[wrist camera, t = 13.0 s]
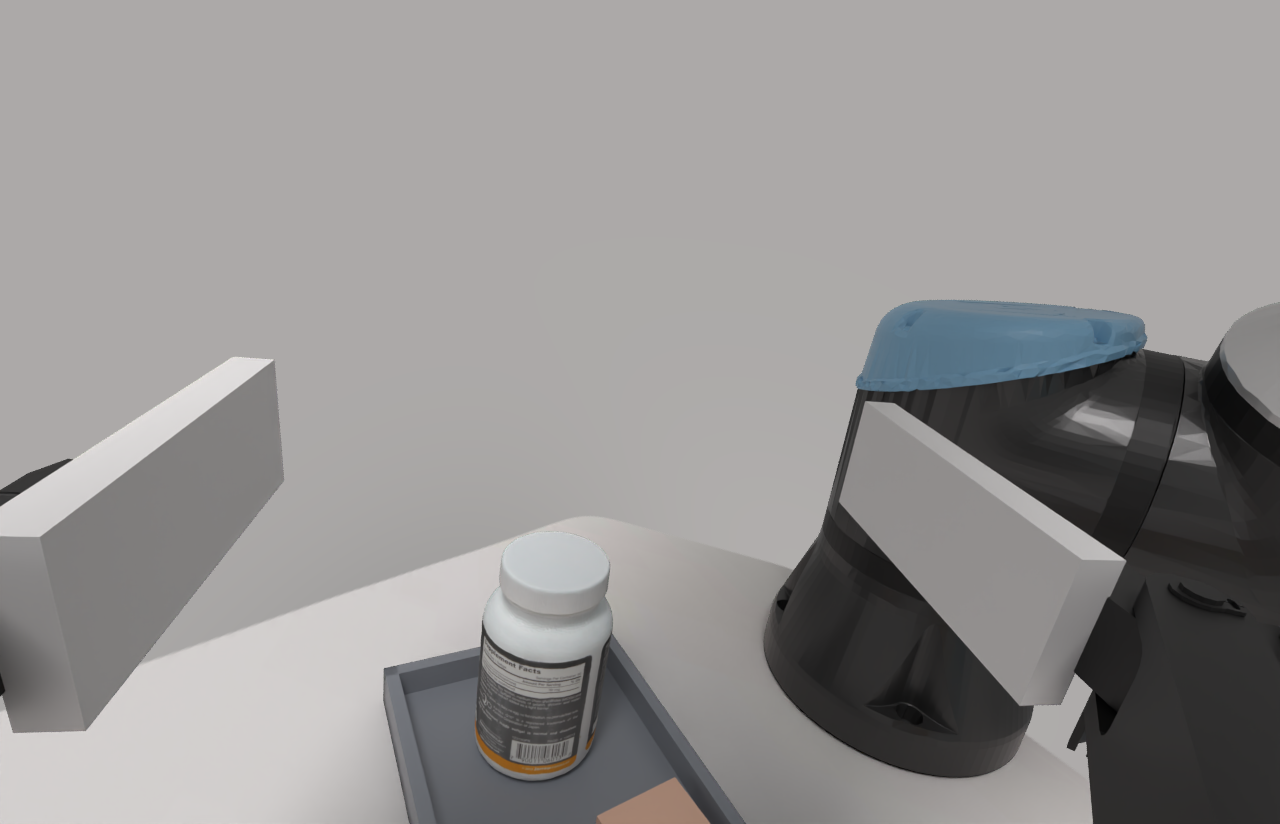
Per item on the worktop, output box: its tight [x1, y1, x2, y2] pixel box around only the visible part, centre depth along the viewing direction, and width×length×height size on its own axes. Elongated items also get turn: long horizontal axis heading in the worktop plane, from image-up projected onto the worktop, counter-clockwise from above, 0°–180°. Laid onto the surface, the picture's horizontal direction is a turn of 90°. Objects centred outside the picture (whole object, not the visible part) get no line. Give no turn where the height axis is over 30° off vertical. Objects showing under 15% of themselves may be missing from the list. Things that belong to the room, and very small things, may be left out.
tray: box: [383, 634, 746, 824], centre depth 28 cm, size 12×16×2 cm
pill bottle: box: [475, 531, 613, 781], centre depth 29 cm, size 6×6×10 cm
